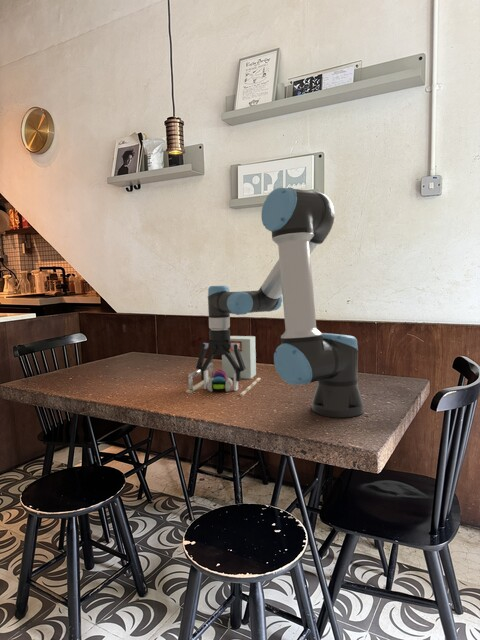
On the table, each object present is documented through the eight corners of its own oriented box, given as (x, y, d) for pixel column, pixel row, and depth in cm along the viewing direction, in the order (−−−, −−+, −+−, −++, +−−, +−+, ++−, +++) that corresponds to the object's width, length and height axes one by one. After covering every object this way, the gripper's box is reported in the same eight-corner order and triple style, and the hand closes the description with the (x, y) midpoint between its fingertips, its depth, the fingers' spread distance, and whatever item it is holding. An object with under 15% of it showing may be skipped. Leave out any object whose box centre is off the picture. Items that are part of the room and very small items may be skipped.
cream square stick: (242, 396, 151) (242, 394, 151) (239, 395, 151) (239, 394, 151) (260, 379, 174) (260, 377, 174) (258, 379, 175) (258, 377, 175)
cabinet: (250, 379, 175) (249, 339, 174) (222, 377, 179) (221, 338, 177) (256, 374, 183) (255, 336, 182) (228, 373, 187) (227, 335, 185)
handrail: (191, 393, 156) (190, 375, 156) (186, 392, 157) (185, 375, 156) (215, 377, 180) (215, 362, 179) (210, 377, 181) (210, 361, 180)
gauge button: (238, 351, 173) (238, 343, 173) (229, 350, 174) (228, 343, 174) (241, 349, 176) (240, 342, 176) (231, 349, 177) (231, 342, 177)
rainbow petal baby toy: (233, 386, 164) (232, 367, 163) (230, 393, 154) (229, 373, 154) (210, 386, 165) (210, 367, 164) (206, 393, 155) (205, 373, 155)
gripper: (253, 328, 158) (254, 388, 160) (193, 327, 165) (195, 385, 167) (247, 330, 151) (249, 393, 153) (185, 329, 157) (187, 390, 160)
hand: (221, 389), depth 160 cm, fingers open, 11 cm apart
